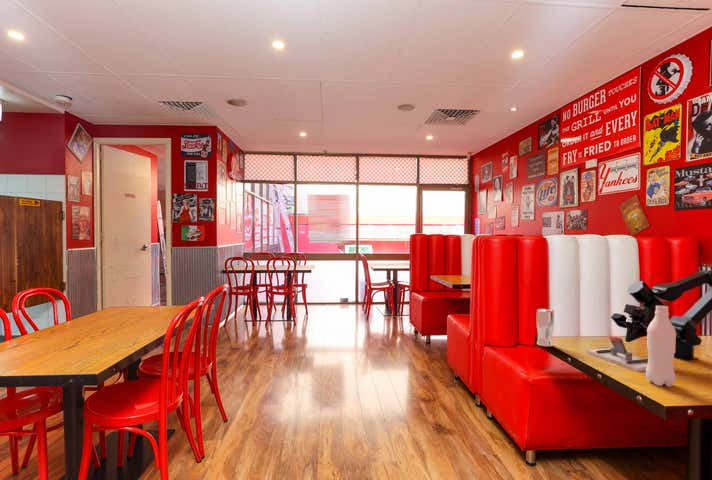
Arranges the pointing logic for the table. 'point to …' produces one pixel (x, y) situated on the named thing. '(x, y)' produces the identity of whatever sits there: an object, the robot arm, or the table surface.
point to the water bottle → (661, 348)
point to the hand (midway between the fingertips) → (626, 341)
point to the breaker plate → (620, 358)
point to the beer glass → (545, 327)
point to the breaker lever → (618, 344)
